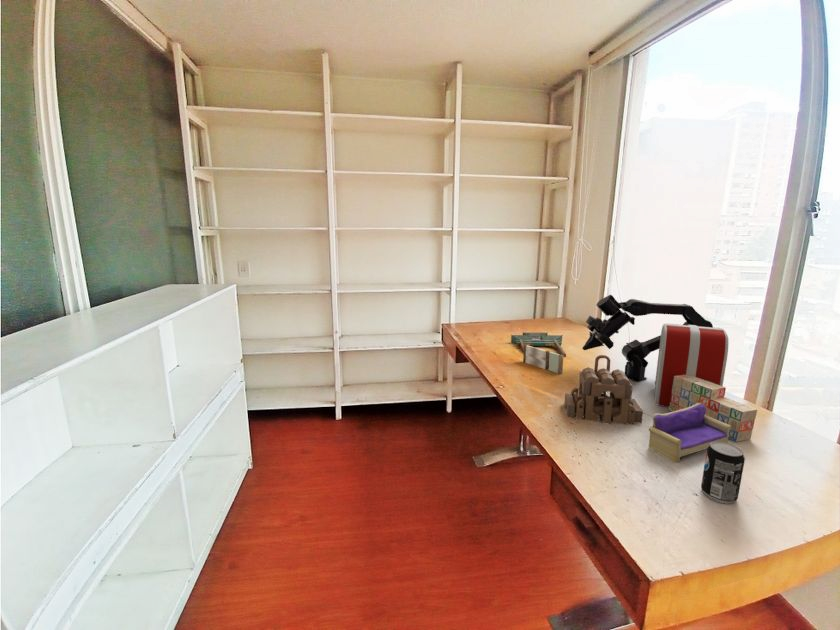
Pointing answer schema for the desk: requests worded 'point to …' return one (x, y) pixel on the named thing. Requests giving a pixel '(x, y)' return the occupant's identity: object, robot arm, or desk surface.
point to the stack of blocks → (713, 404)
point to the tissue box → (689, 357)
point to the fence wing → (556, 363)
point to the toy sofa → (685, 432)
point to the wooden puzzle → (603, 396)
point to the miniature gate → (538, 340)
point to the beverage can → (722, 472)
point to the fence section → (536, 357)
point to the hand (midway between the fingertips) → (583, 349)
